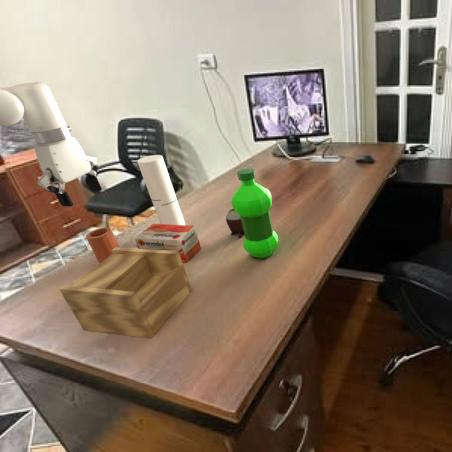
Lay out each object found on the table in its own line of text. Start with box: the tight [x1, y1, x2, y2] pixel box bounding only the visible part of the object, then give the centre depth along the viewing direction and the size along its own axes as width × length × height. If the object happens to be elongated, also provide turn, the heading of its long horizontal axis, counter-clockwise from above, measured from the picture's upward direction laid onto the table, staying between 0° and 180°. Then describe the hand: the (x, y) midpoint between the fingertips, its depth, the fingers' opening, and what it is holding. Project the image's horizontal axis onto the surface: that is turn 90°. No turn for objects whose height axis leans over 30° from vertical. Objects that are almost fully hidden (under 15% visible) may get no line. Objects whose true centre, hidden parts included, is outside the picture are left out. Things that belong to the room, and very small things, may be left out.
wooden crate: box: [58, 247, 193, 339], centre depth 81 cm, size 18×16×12 cm
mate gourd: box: [225, 208, 244, 239], centre depth 109 cm, size 8×8×15 cm
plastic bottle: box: [231, 168, 279, 259], centre depth 95 cm, size 10×10×25 cm
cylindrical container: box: [136, 154, 186, 225], centre depth 113 cm, size 7×7×25 cm
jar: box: [85, 226, 121, 264], centre depth 104 cm, size 6×6×9 cm
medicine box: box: [134, 223, 202, 264], centre depth 103 cm, size 15×8×8 cm, turn 76°
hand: (83, 197), depth 96 cm, fingers open, 9 cm apart
